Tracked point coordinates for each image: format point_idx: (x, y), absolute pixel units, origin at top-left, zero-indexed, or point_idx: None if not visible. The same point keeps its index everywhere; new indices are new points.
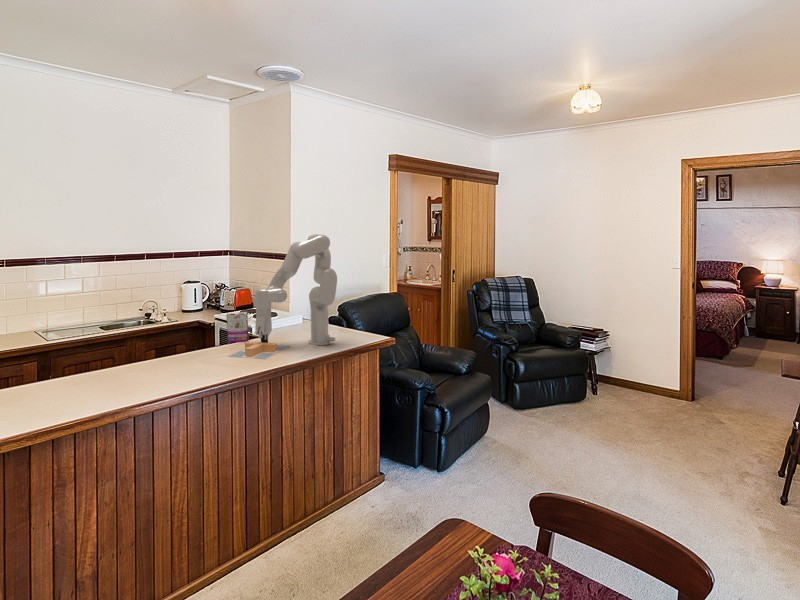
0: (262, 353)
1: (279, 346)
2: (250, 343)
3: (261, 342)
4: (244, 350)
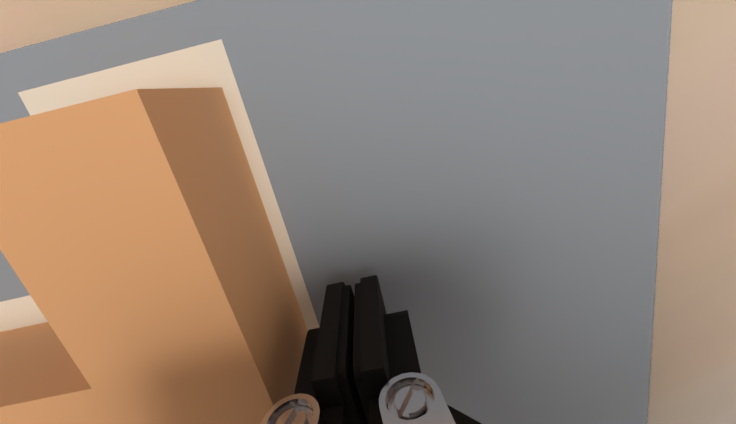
0: None
1: (573, 368)
2: (27, 285)
3: (252, 405)
4: (93, 98)
